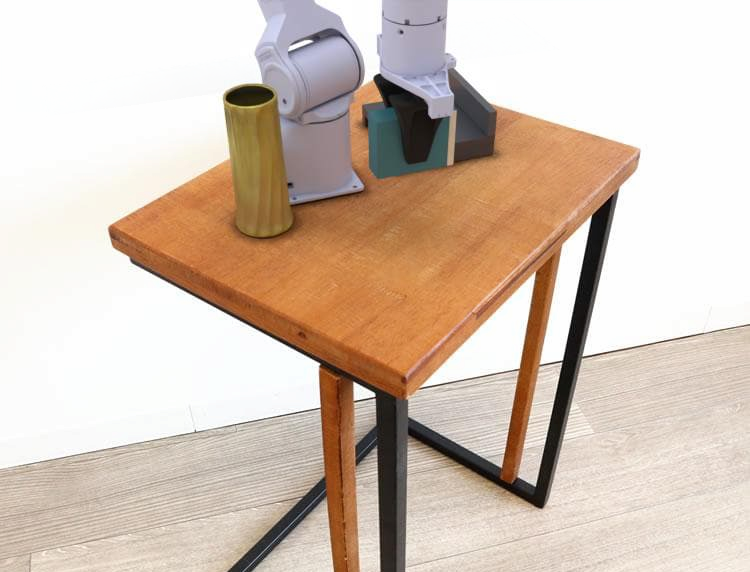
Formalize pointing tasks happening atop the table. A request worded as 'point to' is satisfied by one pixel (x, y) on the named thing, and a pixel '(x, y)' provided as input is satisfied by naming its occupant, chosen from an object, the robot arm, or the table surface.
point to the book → (388, 145)
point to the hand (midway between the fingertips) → (410, 154)
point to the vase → (257, 160)
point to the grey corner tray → (463, 119)
